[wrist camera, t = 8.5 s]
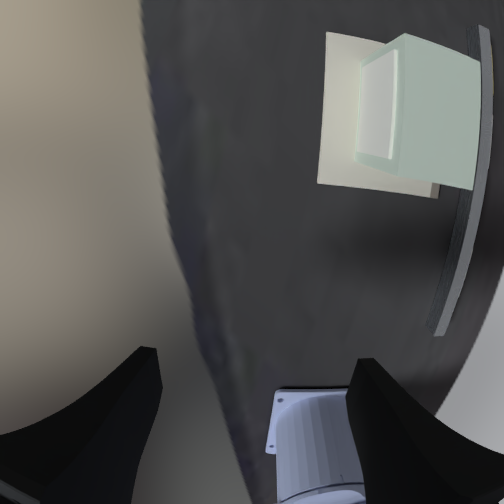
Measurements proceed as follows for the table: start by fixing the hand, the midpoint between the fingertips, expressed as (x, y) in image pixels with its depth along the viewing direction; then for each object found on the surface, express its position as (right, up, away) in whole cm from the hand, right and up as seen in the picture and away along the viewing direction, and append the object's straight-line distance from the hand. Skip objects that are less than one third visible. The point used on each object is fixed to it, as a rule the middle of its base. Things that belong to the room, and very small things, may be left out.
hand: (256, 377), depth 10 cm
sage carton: (+8, +12, +5) cm, 15 cm away
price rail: (+14, +9, +6) cm, 18 cm away
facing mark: (+8, +12, +5) cm, 15 cm away
